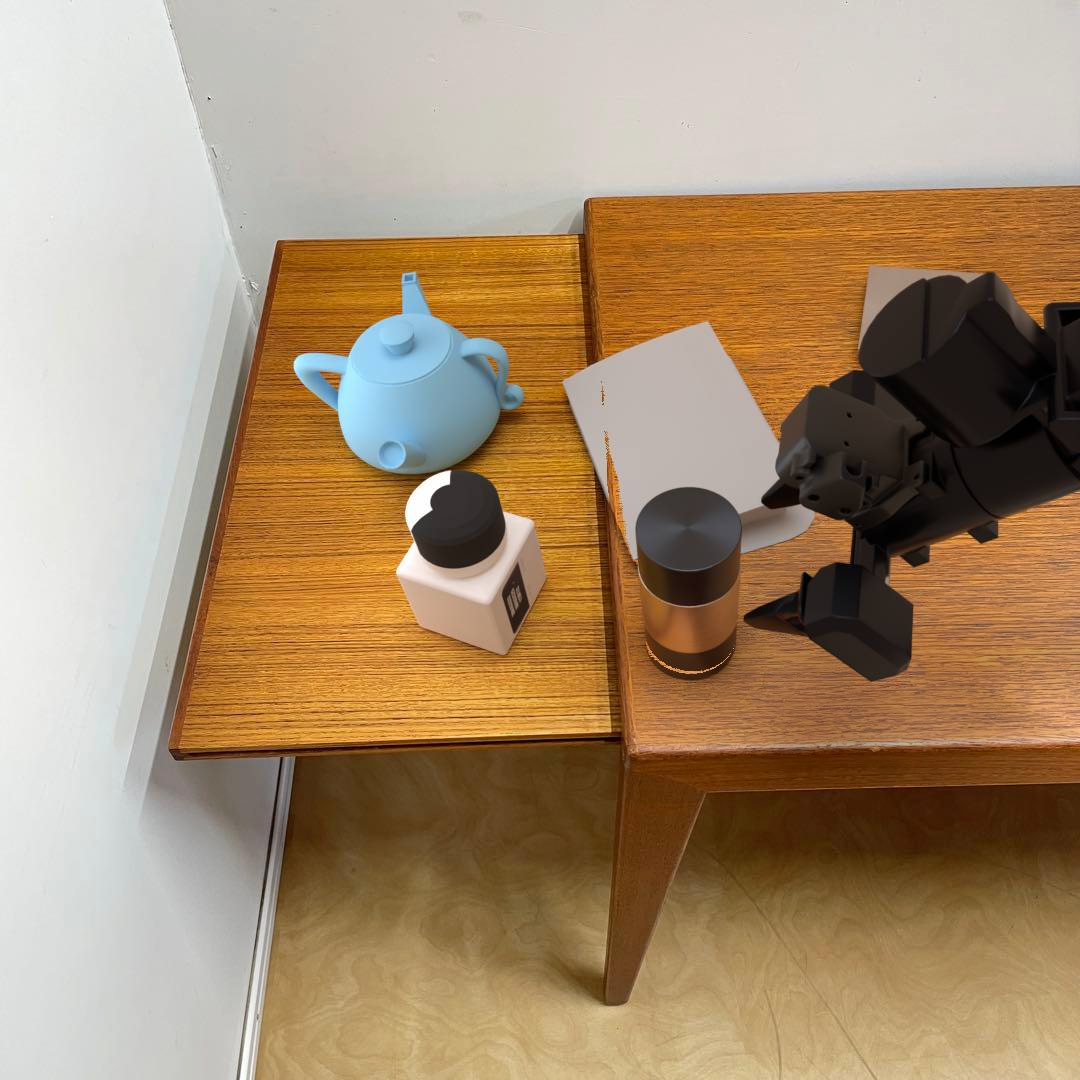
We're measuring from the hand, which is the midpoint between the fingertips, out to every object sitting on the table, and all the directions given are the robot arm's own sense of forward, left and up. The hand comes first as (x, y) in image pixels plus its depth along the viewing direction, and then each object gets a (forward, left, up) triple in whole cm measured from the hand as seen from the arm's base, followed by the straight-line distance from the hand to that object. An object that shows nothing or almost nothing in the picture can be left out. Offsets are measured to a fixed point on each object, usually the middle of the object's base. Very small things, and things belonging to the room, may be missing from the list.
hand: (757, 560), depth 63 cm
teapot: (+34, +12, -11) cm, 38 cm away
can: (+3, +3, -11) cm, 12 cm away
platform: (+20, -31, -11) cm, 39 cm away
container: (+14, +15, -11) cm, 24 cm away
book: (+19, -6, -11) cm, 23 cm away
